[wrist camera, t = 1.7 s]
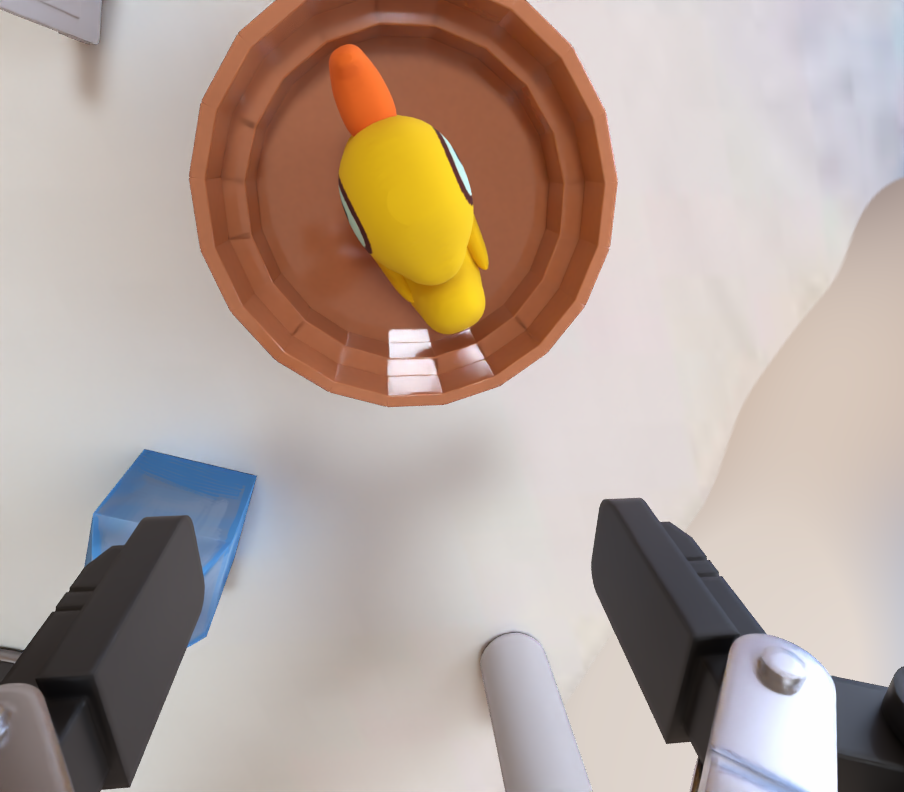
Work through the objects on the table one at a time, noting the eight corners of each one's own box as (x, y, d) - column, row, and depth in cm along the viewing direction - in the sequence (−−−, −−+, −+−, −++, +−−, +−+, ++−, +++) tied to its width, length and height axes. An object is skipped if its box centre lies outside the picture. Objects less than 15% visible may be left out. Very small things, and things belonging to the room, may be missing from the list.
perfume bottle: (127, 537, 34) (5, 722, 23) (144, 449, 32) (19, 606, 21) (233, 558, 35) (168, 742, 24) (256, 475, 33) (196, 635, 22)
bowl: (250, 371, 31) (225, 413, 25) (198, -12, 24) (150, -57, 19) (559, 361, 33) (592, 399, 27) (591, 6, 26) (643, -30, 21)
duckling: (296, 105, 25) (251, 77, 16) (404, 52, 25) (419, -7, 16) (405, 325, 30) (417, 399, 21) (497, 282, 30) (550, 339, 21)
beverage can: (487, 625, 40) (529, 804, 29) (551, 630, 41) (615, 805, 30) (471, 675, 41) (505, 862, 30) (533, 679, 42) (587, 861, 31)
